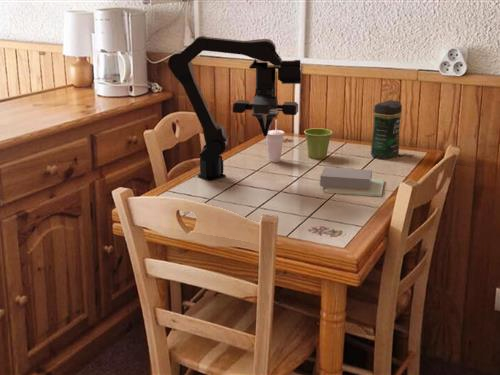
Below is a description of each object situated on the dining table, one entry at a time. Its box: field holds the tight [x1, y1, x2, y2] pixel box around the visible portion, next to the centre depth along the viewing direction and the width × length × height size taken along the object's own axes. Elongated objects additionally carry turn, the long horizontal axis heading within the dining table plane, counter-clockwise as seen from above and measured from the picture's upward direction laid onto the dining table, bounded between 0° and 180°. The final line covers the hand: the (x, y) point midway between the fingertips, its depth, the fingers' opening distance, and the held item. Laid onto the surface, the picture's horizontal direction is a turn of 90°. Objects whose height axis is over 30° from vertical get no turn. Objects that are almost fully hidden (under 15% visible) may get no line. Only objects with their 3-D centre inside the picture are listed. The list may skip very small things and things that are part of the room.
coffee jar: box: [370, 99, 403, 160], centre depth 226 cm, size 10×8×19 cm
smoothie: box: [265, 118, 285, 163], centre depth 221 cm, size 6×6×14 cm
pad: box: [323, 178, 385, 197], centre depth 198 cm, size 16×14×1 cm
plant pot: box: [303, 127, 333, 160], centre depth 226 cm, size 9×9×9 cm
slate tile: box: [319, 166, 373, 190], centre depth 198 cm, size 3×9×14 cm
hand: (265, 135), depth 203 cm, fingers closed
